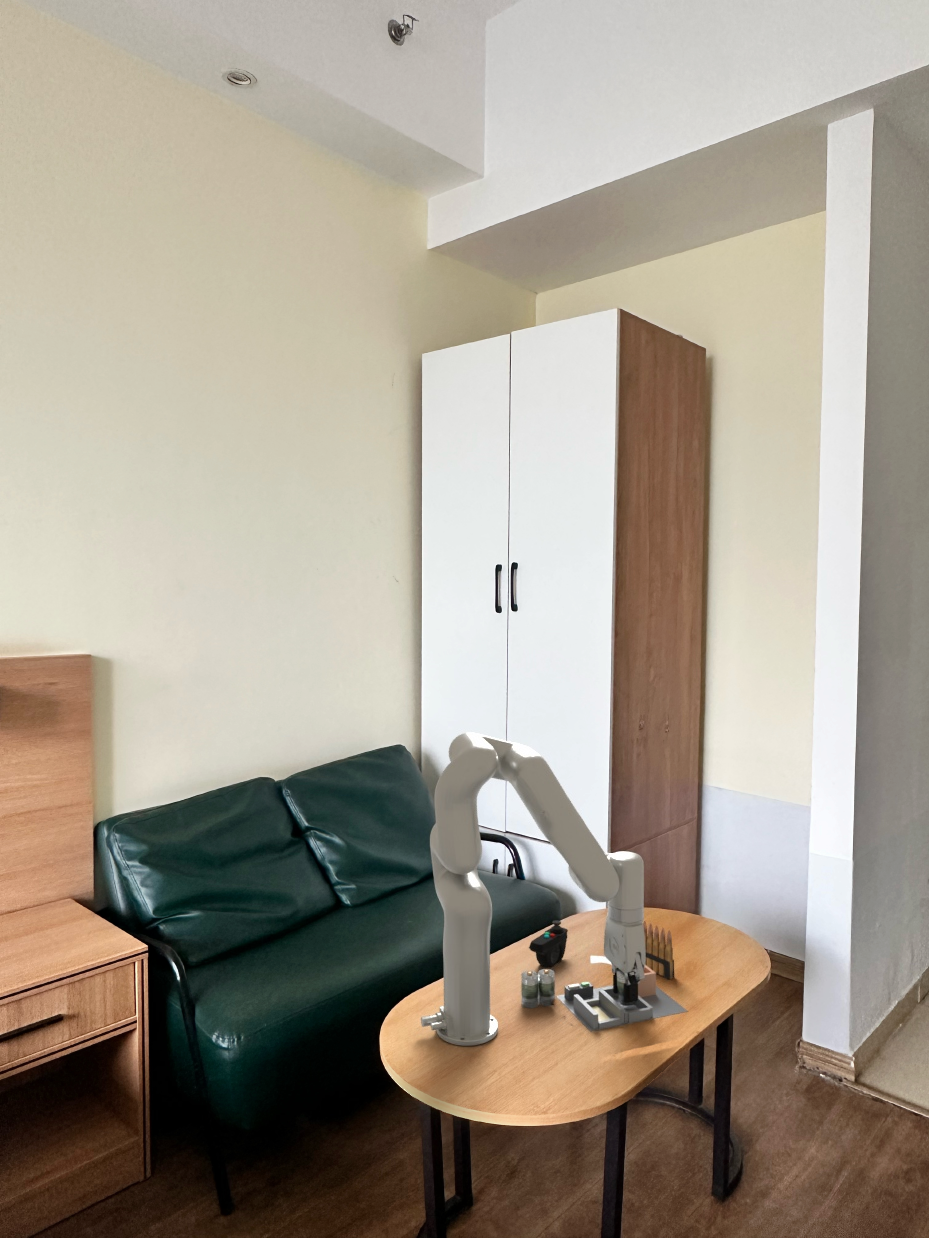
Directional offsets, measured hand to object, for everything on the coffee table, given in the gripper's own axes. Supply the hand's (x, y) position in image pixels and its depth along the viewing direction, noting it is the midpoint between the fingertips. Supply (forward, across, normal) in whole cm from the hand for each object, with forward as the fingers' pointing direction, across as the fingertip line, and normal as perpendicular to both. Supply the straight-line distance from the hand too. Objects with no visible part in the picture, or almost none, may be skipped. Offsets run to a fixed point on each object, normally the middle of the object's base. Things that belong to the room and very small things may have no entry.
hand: (625, 995), depth 188 cm
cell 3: (+1, 0, 0) cm, 1 cm away
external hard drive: (+4, -18, +5) cm, 19 cm away
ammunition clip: (+4, -13, +15) cm, 20 cm away
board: (+4, -2, 0) cm, 4 cm away
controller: (+4, -25, -6) cm, 26 cm away
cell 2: (+4, -10, -14) cm, 17 cm away
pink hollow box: (+3, -6, +6) cm, 9 cm away
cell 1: (+4, -10, -18) cm, 21 cm away
